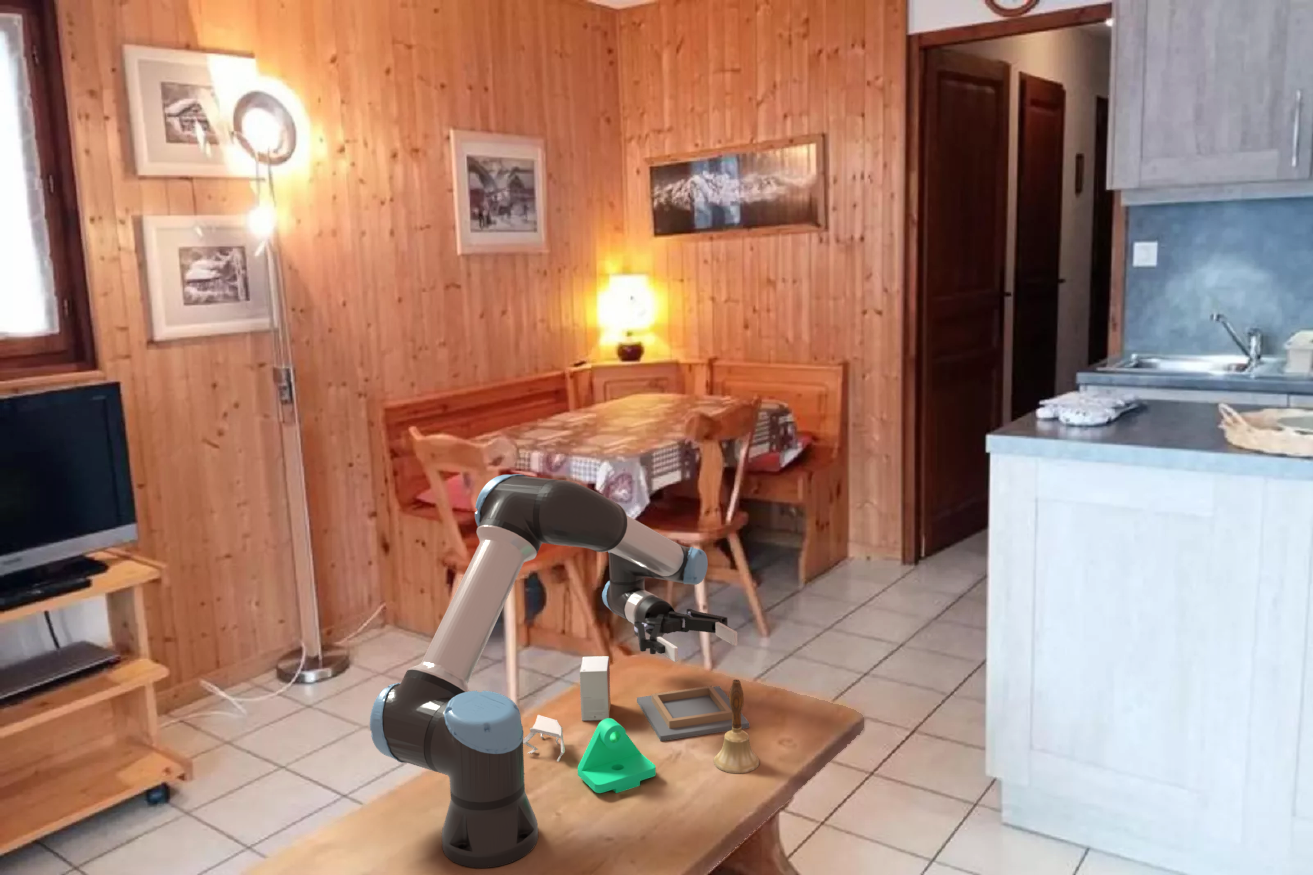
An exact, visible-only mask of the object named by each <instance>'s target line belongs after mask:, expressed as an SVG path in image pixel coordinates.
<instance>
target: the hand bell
mask: <svg viewBox="0 0 1313 875" xmlns="http://www.w3.org/2000/svg"><path fill="white" fill-rule="evenodd" d="M729 689H730V690H729V696H728V697H729V700H730V706H731V709H732V730H730V731H725V733H724V738H723V744H722V748H721V749H720V751H719V752H718V753H716V754H715V756H714V758H713V763H714V764H713V765H714V766H715V767H716V769H718V770H720V771H722V772H725V773H729V774H747V773H750V772H753V771H754V770H756V769H757V768H758V767H759V765H760V759H759V758H758V756H757V754H756V753H754V751H753V749H752V747H751V743H750V742H751V741H750V736H749V734H748V733H747V732H746V731H744V730H743V729H741V713H742V710H743V707H744V699H745V696H744V690H743V687H742V685H741V681H740V680H739V679H733V680H732V684H731V686H730V688H729Z"/></svg>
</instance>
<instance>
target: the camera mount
mask: <svg viewBox="0 0 1313 875" xmlns="http://www.w3.org/2000/svg"><path fill="white" fill-rule="evenodd" d="M656 771H657V769H656V765H655V763H653V762H652V761H651V760H650V759H648V758H647V757H646V756H645V755H644V754H643V753H642V752H640V750H639V748H638V747H637V746H636V745H635V743H634V742H633V740H632V739H631V738H630V736H629V735H628V734H627V732H626V729H625V728H624V727H623V726H622V725H621V724H620V723H619V722H617V721H616V720H615V719H614V718H611V717H609V718H607V719H604V720H600V722H598V724H597V726H596V728H595V730H594V731H593V734H592V737H591V739H590V741H589V743H588V745H587V746H586V748H585V751H584V753H583V756H582V758H581V759H580V761H579V763H578V766H577V777H579V778H580V779H581V780H582V781H583V782H584V783H585V784H586V785H587V786H589V788H590V789H591V790H592V791H593V792H595V793H597V794H601V793H606V792H609V791H613V792H614V793H615V794H618V793H621V792H625V791H628V790H631V789H634V788H638V787H640V786H641V781H644V780H648V779H650V778H653V777H655V776H657V773H656Z"/></svg>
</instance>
